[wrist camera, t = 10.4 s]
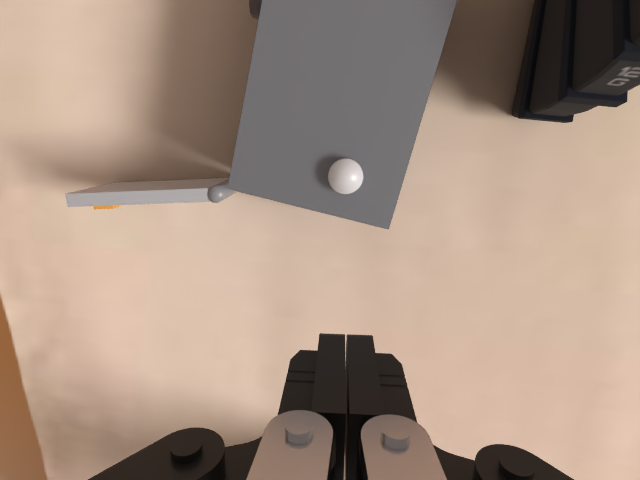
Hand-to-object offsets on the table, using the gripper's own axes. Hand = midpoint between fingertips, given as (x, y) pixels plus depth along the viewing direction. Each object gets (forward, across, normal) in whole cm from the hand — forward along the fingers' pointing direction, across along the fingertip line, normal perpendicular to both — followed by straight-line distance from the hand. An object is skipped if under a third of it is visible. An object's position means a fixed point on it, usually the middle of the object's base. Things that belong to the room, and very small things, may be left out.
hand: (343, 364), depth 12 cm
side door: (+27, +15, -2) cm, 30 cm away
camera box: (+27, 0, -10) cm, 28 cm away
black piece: (+27, -16, -15) cm, 34 cm away
